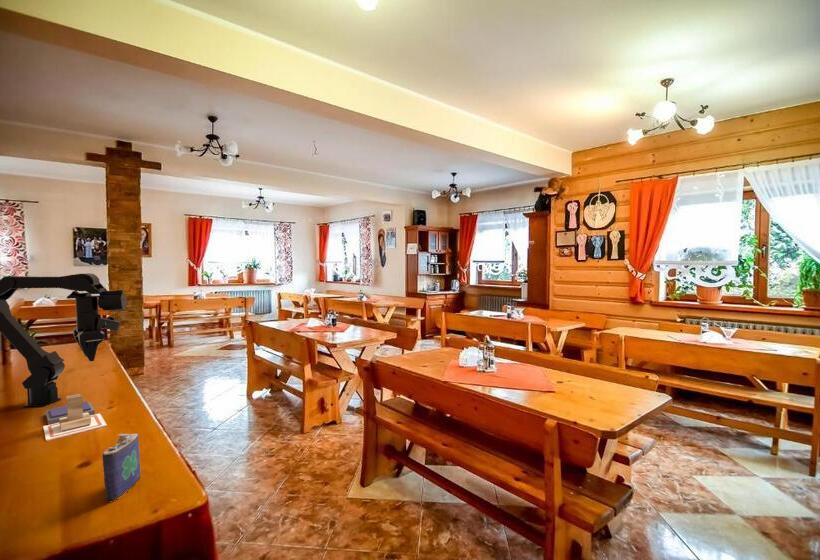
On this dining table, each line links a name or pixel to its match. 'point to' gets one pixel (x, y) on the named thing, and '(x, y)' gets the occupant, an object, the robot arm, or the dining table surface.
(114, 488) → the flask
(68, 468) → the dining table surface
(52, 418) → the ink pad
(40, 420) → the dining table surface
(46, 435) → the print card
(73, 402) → the stamp
